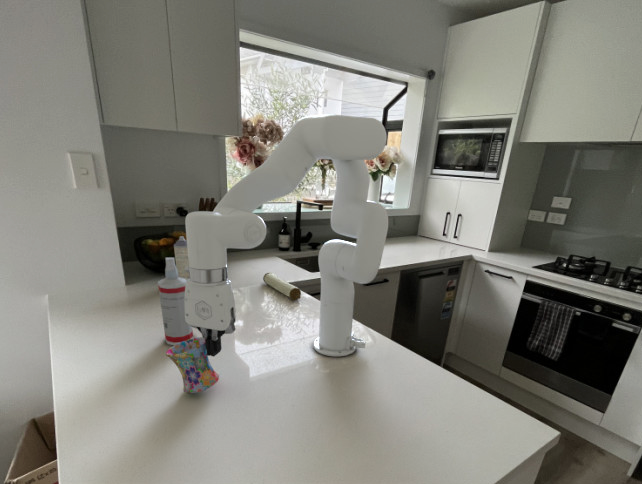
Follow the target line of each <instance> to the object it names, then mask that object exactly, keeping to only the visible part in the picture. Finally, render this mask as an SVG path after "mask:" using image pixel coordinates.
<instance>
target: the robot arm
mask: <svg viewBox="0 0 642 484" xmlns="http://www.w3.org/2000/svg"><path fill="white" fill-rule="evenodd" d="M387 136H388V135H387V131H386V128H385V126H384V125H383V123H382V122H381V121H380V120H378V119H377V118H374V117H364V116H351V115H342V114H319V115H318V114H317V115H309V116H304V117H301V118H299V119H298V120H297V121H296V122H295V123H293V125H292V126H291V127H290V129H289V130H288V131H287V133H286V134H285V136H283V137H282V139H281V140H280V142H279V143H278V144H277V146H275V148H274V150H273V151H272V152H271V153H270V154H269V156H268V157H267V158H266V159H265V160H264V162H263V163H261V165H259V166H258V167H256V168H255V169H253V170H252V171H251V172H250V173H248V174H247V175H246V176H244V177H242V178H241V179H240V180H239V181H237V182H236V183H235V184H234V185H232V187H230V188H229V190H227V192H226V193H225V195H223V196H222V198H221V199H220V201H219V202H217V205H216V206H215V207H214V209H213V211H210V210H209V211H207V210H206V211H205V210H201V211H199V210H197V211H191V212H189V213H187V215H186V216H185V220H184V221H185V223H184V224H185V234H186V235H185V236H186V241H187V248H188V260H189V266H186V267H185V271H186V272H189V275H190V279H187V281H186V287H185V301H184V302H185V320H186V322H187V323H188V324H189V325H190V326H191V327H192V328H193V329H196V330H197V331H199V333H200V334H201V337H203V338H204V339H205V345H206V350H207V355H208V357H210V356H211V357H216V356H217V355H218V354H219V353H221V351H222V337H223V336H224V335H229V334H233V333H234V332H236V331H237V329H236V325H235V323H236V321H237V313H236V312H237V311H236V310H237V309H236V300H235V294H234V289H233V286H232V282H231V280H230V279H229V278H228V277H229V276H228V254H227V253H228V252H227V249H241V250H250V249H254V248H256V247H259V246H260V245H262V243H263V242H264V240H265V239H266V236H267V225H266V223H265V222H264V220H263V218H262V217H260V215H258V214H257V213H254V212H255V211H256V210H257V209H258V208H259V207H261V206H262V205H264V204H266V203H268V202H271V201H274V200H277V199H281V198H283V197H285V196H288V195H290V194H292V193H293V192H295V191H296V190H297V188H298V187H299V185H300V184H301V182H302V181H303V180H304V179H305V177H306V176H307V175H308V173H309V172H310V171H311V170H312V168H313V167H314V166H315V164H316V163H317V162H318V160H331V162H332V164H333V166H334V170H335V174H336V182H335V190H334V195H333V201H332V206H331V213H330V228H331V230H332V231H333V232H335V233H336V234H338V235H340V236H344V237H348V238H352V239H356V243H354V242H350V241H346V240H342V239H331V240H328V241H326V242H324V244H323V245H322V246H321V247H320V249H319V252H318V257H317V261H318V270H319V276H320V299H319V300H320V302H319V303H320V304H319V306H320V307H319V325H318V329H319V330H318V331H319V332H318V337H317V338H316V339H314V341H313V349H314V350H315V351H316V352H317V353H319V354H320V355H324V356H328V357H345V356H349V355H352V354H353V353H354V352H356V348H359V349H366V343H367V342H366V341H364V338H360V337H356V336H355V332H354V331H353V319H354V307H355V306H354V305H355V296H356V295H355V285H354V283H356V284H361V285H367V284H370V283H371V282H372V281H374V280H375V278H376V277H377V275H378V273H379V270H380V266H381V262H382V259H383V254H384V249H385V245H386V240H387V235H388V230H389V215H388V212H387V209H386V208H385V207H384V205H383V204H381V203H379V202H376V201H372V200H368V198H369V197H368V196H369V190H370V183H371V181H370V180H371V179H370V172H369V168H368V166H367V164H366V162H365V161H371V160H374V159H377V158H378V157H379V156H381V154H382V153H383V151H384V150H385V148H386V144H387V138H388V137H387Z"/></svg>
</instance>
